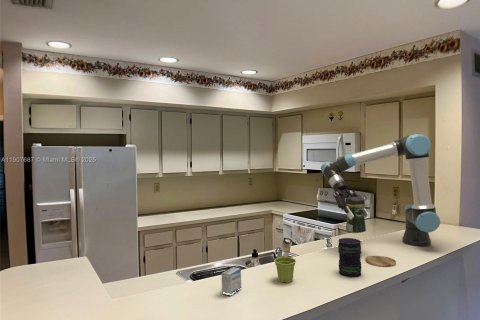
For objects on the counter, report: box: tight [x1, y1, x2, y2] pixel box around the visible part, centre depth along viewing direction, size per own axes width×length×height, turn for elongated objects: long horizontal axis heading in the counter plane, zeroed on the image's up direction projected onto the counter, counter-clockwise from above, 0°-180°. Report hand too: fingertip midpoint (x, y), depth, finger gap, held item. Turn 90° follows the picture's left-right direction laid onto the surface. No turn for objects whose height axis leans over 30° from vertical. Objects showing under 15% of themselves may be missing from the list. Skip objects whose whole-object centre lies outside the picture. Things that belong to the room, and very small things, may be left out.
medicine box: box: [221, 266, 242, 294], centre depth 128 cm, size 8×4×9 cm, turn 148°
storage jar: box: [337, 237, 362, 278], centre depth 146 cm, size 10×10×15 cm
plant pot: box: [273, 256, 297, 283], centre depth 139 cm, size 9×9×9 cm
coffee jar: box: [345, 196, 367, 234], centre depth 171 cm, size 10×8×19 cm
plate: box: [364, 255, 397, 268], centre depth 160 cm, size 14×14×1 cm
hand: (359, 216), depth 168 cm, fingers closed on coffee jar, 9 cm apart
